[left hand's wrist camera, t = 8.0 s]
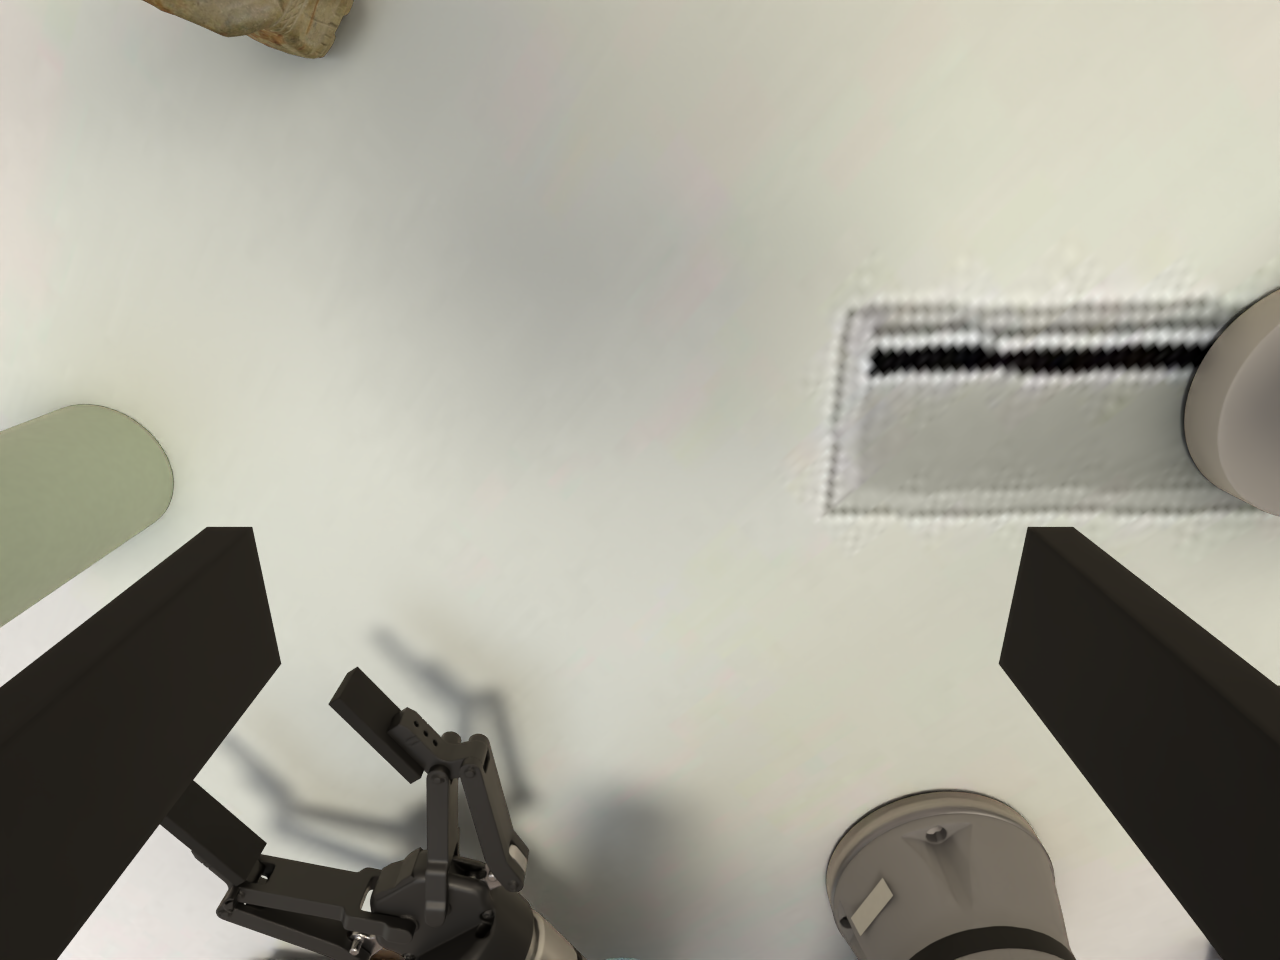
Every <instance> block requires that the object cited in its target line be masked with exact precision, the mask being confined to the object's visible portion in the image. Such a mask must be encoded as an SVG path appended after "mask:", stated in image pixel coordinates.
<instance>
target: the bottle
mask: <svg viewBox="0 0 1280 960" xmlns="http://www.w3.org/2000/svg"><path fill="white" fill-rule="evenodd" d="M172 492H173V476H172V471H171V467H170V464H169V462H168V459H167V457H166V455H165V453H164V451H163V449H162V448H161V446H160V445H159V444H158V442H157V441H156V440H155V439H154V437H153V436H152V435H151V434H150V433H149V432H148V431H147V430H146V429H145V428H144V427H142V426H141V425H140V424H138V423H137V422H136V421H134V420H133V419H131V418H129V417H128V416H126V415H124V414H122V413H120V412H118V411H115V410H112V409H109V408H106V407H101V406H96V405H73V406H68V407H65V408H62V409H59V410H56V411H54V412H51V413H48V414H46V415H43V416H40V417H38V418H35V419H32V420H30V421H27V422H24V423H22V424H19V425H16V426H14V427H11V428H8V429H6V430H3V431H0V628H1V627H2V626H3V625H5V624H6V623H8V622H9V621H11V620H12V619H14V618H15V617H17V616H18V615H20V614H21V613H22V612H24V611H25V610H27V609H28V608H30V607H31V606H33V605H34V604H36V603H37V602H39V601H40V600H42V599H43V598H44V597H46V596H47V595H49V594H50V593H52V592H53V591H55V590H56V589H58V588H59V587H61V586H62V585H63V584H65V583H66V582H68V581H69V580H71V579H72V578H74V577H75V576H77V575H78V574H80V573H81V572H82V571H84V570H85V569H87V568H88V567H90V566H91V565H93V564H94V563H96V562H97V561H99V560H100V559H102V558H103V557H104V556H106V555H107V554H109V553H110V552H112V551H113V550H115V549H116V548H118V547H119V546H121V545H122V544H123V543H125V542H126V541H128V540H129V539H131V538H132V537H134V536H135V535H137V534H138V533H140V532H141V531H143V530H144V529H145V528H147V527H148V526H150V525H151V524H153V523H154V522H156V521H157V520H158V519H159V518H160V517H161V516H162V515H163V514H164V512H165V511H166V509H167V507H168V506H169V503H170V500H171V498H172Z"/></svg>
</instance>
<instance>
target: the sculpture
mask: <svg viewBox="0 0 1280 960" xmlns="http://www.w3.org/2000/svg"><path fill="white" fill-rule="evenodd" d="M143 1H145V2H147V3H149V4H151V5H153V6H155V7H156V8H158V9H160V10H161V11H164V12H167V13H170V14H173V15H176V16H178V17H181V18H183V19H185V20H188V21H190V22H193V23H195V24H198V25H200V26H202V27H204V28H207V29H209V30H211V31H213V32H215V33H218V34H220V35H222V36H225V37H235V36H243V35H247V36H249V37H251V38H252V39H254V40H256V41H258V42H260V43H263V44H265V45H267V46H269V47H272V48H274V49H277V50H280V51H283V52H286V53H289V54H292V55H297V56H301V57H305V58H312V59H315V58H318V57H319V58H321V57H324V56H325V55H326V53H327V52H328V51H329V49H330V48H331V46H332V44H333V43H334V40H335V32H336V30H337V28H338V26H339V24H340V22H341V20H342V18H343V16H345V15H347V14H348V13H349V12H350V9H351V7H352V4H353V1H354V0H143Z"/></svg>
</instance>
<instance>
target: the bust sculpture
mask: <svg viewBox="0 0 1280 960" xmlns="http://www.w3.org/2000/svg"><path fill="white" fill-rule="evenodd" d="M1184 427H1185V437H1186V442H1187V446H1188V449H1189V452H1190V455H1191V457H1192V459H1193V461H1194V463H1195V464H1196V466H1197V467H1198V469H1199V470H1200V472H1201V473H1202V474H1203V475H1204V476H1205V477H1206V478H1207V479H1208V480H1209V481H1210V482H1211V483H1213V484H1214V485H1215V486H1217V487H1218V488H1220V489H1221V490H1223V491H1225V492H1227V493H1229V494H1231V495H1233V496H1235V497H1237V498H1239V499H1241V500H1243V501H1245V502H1247V503H1248V504H1250V505H1252V506H1254V507H1256V508H1258V509H1260V510H1262V511H1265V512H1267V513H1270V514H1273V515H1277V516H1280V289H1279V290H1277V291H1275V292H1274V293H1272V294H1270V295H1268V296H1267V297H1265V298H1263V299H1262V300H1260V301H1259V302H1257V303H1256V304H1254V305H1253V306H1252V307H1250V308H1249V309H1248V310H1246V311H1245V312H1244V313H1243V314H1241V315H1240V316H1239V317H1238V318H1237V319H1236V320H1235V321H1234V322H1233V323H1232V324H1231V325H1230V326H1229V327H1228V328H1227V329H1226V330H1225V331H1224V332H1223V333H1222V334H1221V335H1220V337H1219V338H1218V339H1217V340H1216V342H1215V343H1214V344H1213V346H1212V347H1211V348H1210V350H1209V351H1208V353H1207V354H1206V356H1205V357H1204V359H1203V361H1202V363H1201V364H1200V366H1199V368H1198V370H1197V372H1196V374H1195V377H1194V379H1193V382H1192V384H1191V387H1190V390H1189V394H1188V398H1187V402H1186V408H1185V419H1184Z"/></svg>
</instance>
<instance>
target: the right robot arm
mask: <svg viewBox="0 0 1280 960" xmlns="http://www.w3.org/2000/svg"><path fill="white" fill-rule="evenodd" d="M329 705H330V706H331V707H332V708H333V709H334V710H335V711H336V712H337V713H338V714H339V715H340V716H341V717H342V718H343V719H344V720H345V721H346V722H347V723H348V724H349V725H350V726H351V727H352V728H353V729H354V730H356V731H357V732H358V733H359V734H360V735H361V736H362V737H363V738H364V739H365V740H366V741H367V742H368V743H369V744H370V745H371V746H372V747H373V748H374V749H375V750H376V751H377V752H378V753H379V754H380V755H381V756H382V757H383V758H384V759H385V760H387V761H388V762H389V763H390V764H391V765H392V766H393V767H394V768H395V769H396V770H397V771H398V772H399V773H400V774H401V775H402V776H403V777H404V778H405V779H406V780H407V781H408V782H409V783H410V784H411V783H413V782H415V781H416V780H418V779H420V778H421V777H422V774H423V771H425V772H426V773H427V774H428V775H427V850H423V849H422V848H421V847H420V848H418V849H416V850H415V851H413V852H411V853H410V854H409V855H408V856H407V857H406V858H405V859H404V860H402V861H398V862H395V863H391V864H390V865H388V866H386V867H384V868H383V869H382V870H379V869H374V868H364V869H363V870H361V871H360V872H351V871H346V870H341V869H336V868H331V867H325V866H320V865H315V864H310V863H304V862H299V861H294V860H289V859H283V858H278V857H273V856H268V855H262V854H261V853H262V851H263V849H264V847H265V846H266V844H267V843H266V842H265V841H264V840H262V839H261V838H260V837H259V836H258V835H256V834H255V833H254V832H253V831H252V830H251V829H249V828H248V827H247V826H246V825H245V824H244V823H242V822H241V821H240V820H239V819H238V818H237V817H235V816H234V815H233V814H232V813H231V812H230V811H228V810H227V809H226V808H225V807H224V806H223V805H221V804H220V803H219V802H218V801H217V800H216V799H214V798H213V797H212V796H211V795H210V794H209V793H207V792H206V791H205V790H204V789H203V788H202V787H200V786H199V785H198V784H197V783H196V782H195V781H192V782H191V783H190V785H189V786H188V787H187V789H186V790H185V791H184V793H183V794H182V795H181V797H180V798H179V799H178V801H177V802H176V803H175V804H174V806H173V807H172V808H171V810H170V811H169V812H168V814H167V815H166V816H165V818H164V819H163V820H162V822H161V823H160V825H162V826H163V827H164V828H165V829H166V830H168V831H169V832H170V833H171V834H173V835H174V836H175V837H176V838H177V839H179V840H180V841H181V842H182V843H184V844H185V845H186V846H187V847H188V848H190V849H191V850H192V851H191V852H192V853H193V855H194V857H195V858H196V859H197V860H198V861H200V862H201V863H203V865H205V866H206V867H208V868H209V869H210V870H211V871H212V872H213V873H214V874H216V875H217V876H218V877H219V878H221V879H222V880H223V881H224V882H225V883H226V884H227V885H228V888H229V889H228V891H227V893H226V894H225V896H224V898H223V900H222V901H221V903H220V905H219V906H218V908H217V910H216V914H217V916H218V917H219V918H221V919H223V920H226V921H229V922H232V923H234V924H237V925H240V926H243V927H246V928H249V929H251V930H254V931H257V932H260V933H263V934H266V935H268V936H271V937H274V938H277V939H280V940H283V941H285V942H288V943H291V944H294V945H297V946H300V947H302V948H305V949H308V950H311V951H314V952H317V953H319V954H322V955H325V956H328V957H331V958H332V959H334V960H370V958H371V956H372V955H374V954H375V953H377V952H378V951H379V950H381V949H382V948H385V949H387V950H390V951H393V952H396V953H398V954H400V955H401V956H403V957H404V959H405V960H587V959H586V958H585V957H584V956H583V955H582V954H581V953H580V952H578V951H577V950H576V949H575V948H574V947H573V946H572V945H571V944H570V943H569V942H568V941H567V940H566V939H565V938H564V937H563V936H562V935H561V934H560V933H559V932H558V931H557V930H556V929H555V928H554V927H553V926H552V925H551V924H550V923H549V922H548V921H546V920H545V919H544V918H543V917H542V916H541V915H540V914H539V913H538V912H536V911H535V910H533V909H532V908H531V906H530V904H529V903H528V902H527V901H526V900H525V899H524V898H523V897H522V896H521V895H520V894H519V893H518V892H519V891H520V890H521V889H522V888H523V884H524V878H525V873H526V867H527V861H528V855H529V850H528V848H527V846H526V845H525V844H524V843H523V841H522V840H521V839H520V838H519V836H518V835H517V834H516V832H515V831H514V830H513V827H512V823H511V819H510V816H509V812H508V808H507V805H506V801H505V797H504V794H503V790H502V786H501V783H500V779H499V775H498V772H497V768H496V764H495V761H494V757H493V753H492V750H491V746H490V742H489V740H488V738H487V737H486V736H485V735H482V734H475V735H472V736H471V737H470V738H469V741H467V742H463V743H461V737H460V736H459V735H458V734H457V733H455V732H446V733H444V734H443V735H442V736H441V737H440V736H439V735H438V734H437V733H436V732H435V731H434V730H433V728H432V727H431V726H430V725H429V724H427V722H426V721H425V720H424V719H422V717H421V716H420V715H419V714H418V713H417V712H416V711H414V710H412V709H410V708H408V707H407V708H405V709H404V710H402V711H401V710H400V709H399V708H398V707H397V706H396V705H395V704H394V703H393V702H392V701H391V700H390V699H389V698H388V697H387V696H386V695H385V694H384V693H383V692H382V691H381V690H380V689H379V688H378V687H377V686H376V685H375V684H374V683H373V682H372V681H371V680H370V679H369V678H368V677H367V676H366V675H365V674H364V673H363V672H362V671H361V670H360V669H359V668H358V667H356V668H355V669H353V670H352V671H350V672H348V673H347V675H346V676H345V678H344V680H343V681H342V683H341V685H340V686H339V688H338V690H337V691H336V693H335V695H334V696H333V698H332V699H331V701H330V703H329ZM458 778H461V781H462V784H463V788H464V791H465V794H466V798H467V801H468V804H469V808H470V811H471V815H472V818H473V821H474V825H475V828H476V831H477V835H478V838H479V841H480V845H481V848H482V851H483V855H484V858H485V861H486V864H485V863H483V862H480V861H477V860H473V859H469V858H465V857H461V856H460V854H459V831H460V830H459V827H458ZM261 875H263V876H266V877H267V878H268V879H265V878H262V877H261ZM826 887H827V893H828V897H829V901H830V904H831V908H832V912H833V916H834V919H835V923H836V925H837V927H838V929H839V931H840V933H841V934H842V936H843V937H844V938H845V940H846V941H847V943H848V944H849V946H850V947H851V949H852V950H853V952H854V953H855V955H856V957H857V958H858V960H1076V959H1075V957H1074V955H1073V953H1072V952H1071V949H1070V946H1069V942H1068V938H1067V933H1066V928H1065V924H1064V919H1063V915H1062V910H1061V906H1060V902H1059V898H1058V894H1057V890H1056V886H1055V877H1054V870H1053V866H1052V863H1051V860H1050V858H1049V856H1048V854H1047V852H1046V850H1045V849H1044V847H1043V845H1042V844H1041V842H1040V841H1039V839H1038V837H1037V836H1036V834H1035V832H1034V831H1033V829H1032V828H1031V826H1030V825H1029V824H1028V822H1027V821H1026V820H1025V819H1024V818H1023V817H1022V816H1021V815H1020V814H1019V813H1017V812H1016V811H1015V810H1013V809H1012V808H1010V807H1008V806H1007V805H1005V804H1003V803H1001V802H999V801H997V800H994V799H991V798H988V797H985V796H981V795H977V794H972V793H965V792H933V793H926V794H920V795H916V796H911V797H908V798H904V799H901V800H898V801H896V802H893V803H890V804H888V805H886V806H884V807H882V808H880V809H878V810H876V811H875V812H873V813H871V814H870V815H868V816H867V817H865V818H864V819H862V820H861V821H860V822H859V823H857V824H856V825H855V826H854V827H853V828H852V829H851V830H850V831H849V832H848V833H847V834H846V835H845V836H844V837H843V839H842V840H841V841H840V843H839V844H838V846H837V847H836V849H835V851H834V853H833V854H832V857H831V859H830V862H829V865H828V869H827V876H826ZM370 890H373V892H372V895H371V899H370V906H371V912H367V911H363V910H361V908H362V906H363V903H364V901H365V898H366V895H367V893H368V892H369V891H370ZM244 903H246V905H245V904H244ZM605 960H638V959H632V958H629V959H626V958H623V957H622V958H618V959H615V958H611V959H605Z"/></svg>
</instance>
